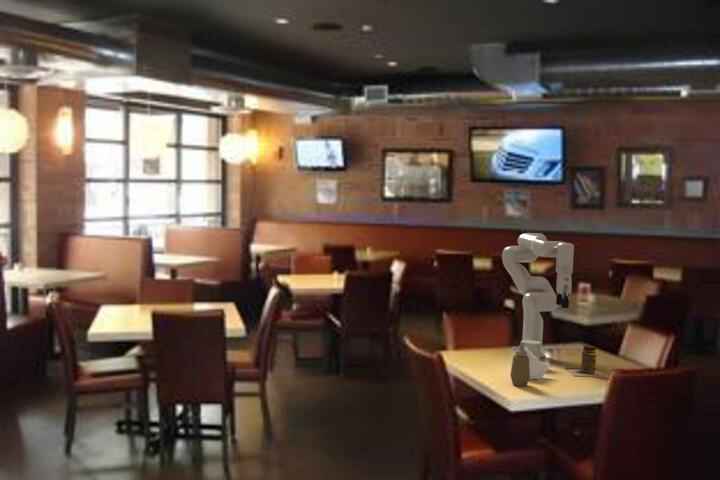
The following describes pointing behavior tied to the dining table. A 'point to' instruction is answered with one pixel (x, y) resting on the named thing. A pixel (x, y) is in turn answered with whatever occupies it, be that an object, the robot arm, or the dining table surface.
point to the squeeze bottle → (520, 367)
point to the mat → (585, 375)
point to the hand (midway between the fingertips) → (562, 306)
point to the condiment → (588, 361)
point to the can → (533, 347)
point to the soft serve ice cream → (535, 366)
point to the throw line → (574, 368)
